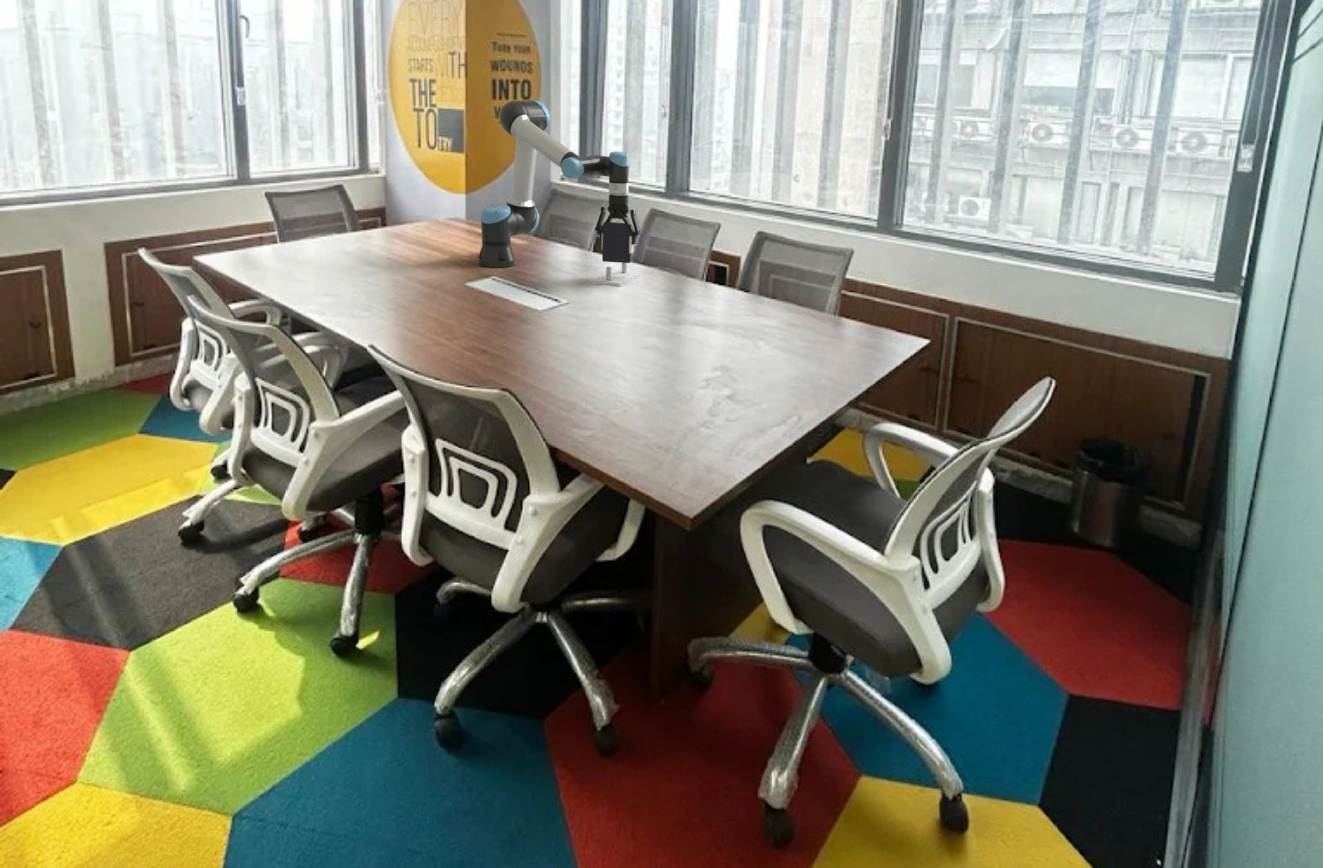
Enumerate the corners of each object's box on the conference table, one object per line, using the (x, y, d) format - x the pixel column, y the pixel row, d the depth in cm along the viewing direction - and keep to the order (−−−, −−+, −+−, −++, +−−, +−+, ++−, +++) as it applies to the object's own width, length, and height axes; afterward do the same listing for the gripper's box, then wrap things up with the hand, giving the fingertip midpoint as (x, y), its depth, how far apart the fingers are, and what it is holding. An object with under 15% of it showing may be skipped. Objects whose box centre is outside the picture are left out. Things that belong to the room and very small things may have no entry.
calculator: (631, 261, 378) (632, 223, 373) (629, 263, 374) (630, 224, 369) (603, 259, 379) (604, 221, 374) (601, 261, 375) (602, 223, 370)
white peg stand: (591, 283, 372) (591, 267, 369) (613, 272, 391) (613, 257, 389) (619, 286, 368) (620, 270, 366) (640, 275, 387) (641, 260, 385)
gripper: (586, 192, 368) (586, 249, 376) (643, 197, 360) (641, 255, 368) (594, 190, 374) (593, 246, 382) (650, 195, 367) (648, 252, 375)
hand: (617, 251), depth 375 cm, fingers closed on calculator, 11 cm apart
